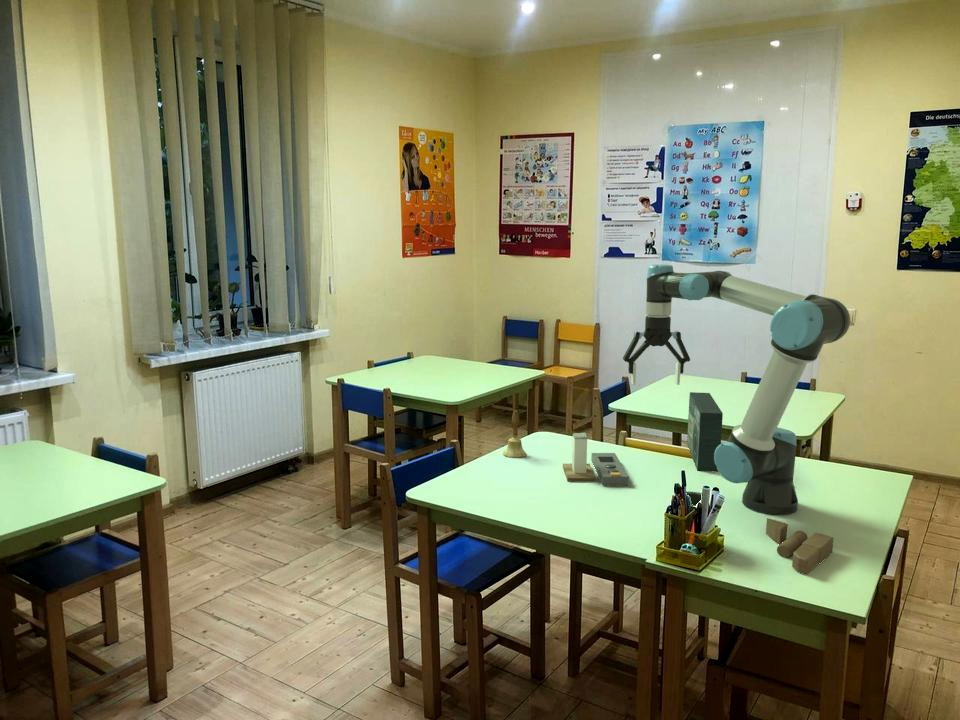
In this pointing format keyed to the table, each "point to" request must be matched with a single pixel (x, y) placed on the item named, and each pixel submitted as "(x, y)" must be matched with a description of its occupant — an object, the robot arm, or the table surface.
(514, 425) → the hand bell
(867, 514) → the table surface
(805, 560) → the wooden block set
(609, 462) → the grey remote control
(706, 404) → the cassette player
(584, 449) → the block
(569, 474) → the walnut board
